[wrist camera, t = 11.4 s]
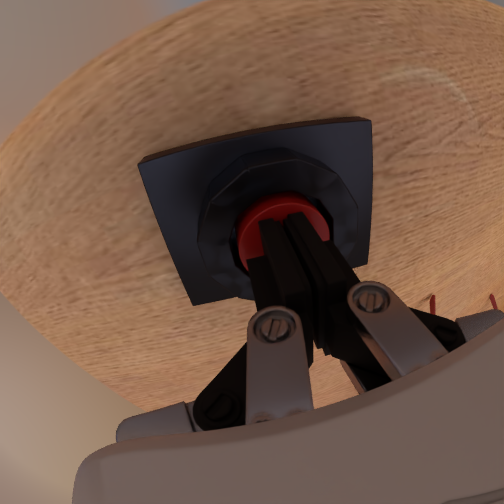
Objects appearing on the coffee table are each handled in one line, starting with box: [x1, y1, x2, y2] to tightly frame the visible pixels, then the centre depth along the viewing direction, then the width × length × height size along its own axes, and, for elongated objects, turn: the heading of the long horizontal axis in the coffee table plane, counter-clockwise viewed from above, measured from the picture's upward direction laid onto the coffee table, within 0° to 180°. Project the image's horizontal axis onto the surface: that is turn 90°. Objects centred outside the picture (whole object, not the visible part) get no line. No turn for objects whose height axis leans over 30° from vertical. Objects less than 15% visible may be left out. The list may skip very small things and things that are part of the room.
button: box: [235, 191, 330, 270], centre depth 11 cm, size 4×4×2 cm
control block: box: [138, 117, 373, 306], centre depth 12 cm, size 10×8×3 cm
